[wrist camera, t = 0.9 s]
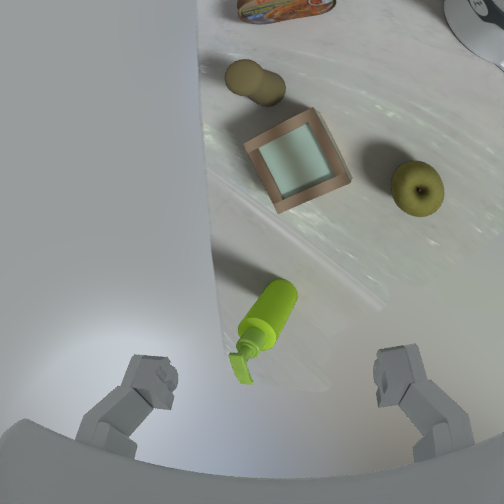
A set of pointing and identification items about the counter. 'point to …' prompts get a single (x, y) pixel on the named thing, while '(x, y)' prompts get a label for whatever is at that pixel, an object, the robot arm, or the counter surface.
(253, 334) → the soap dispenser
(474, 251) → the counter surface
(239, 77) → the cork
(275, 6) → the tin
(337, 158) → the brown wooden square box
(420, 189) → the apple
